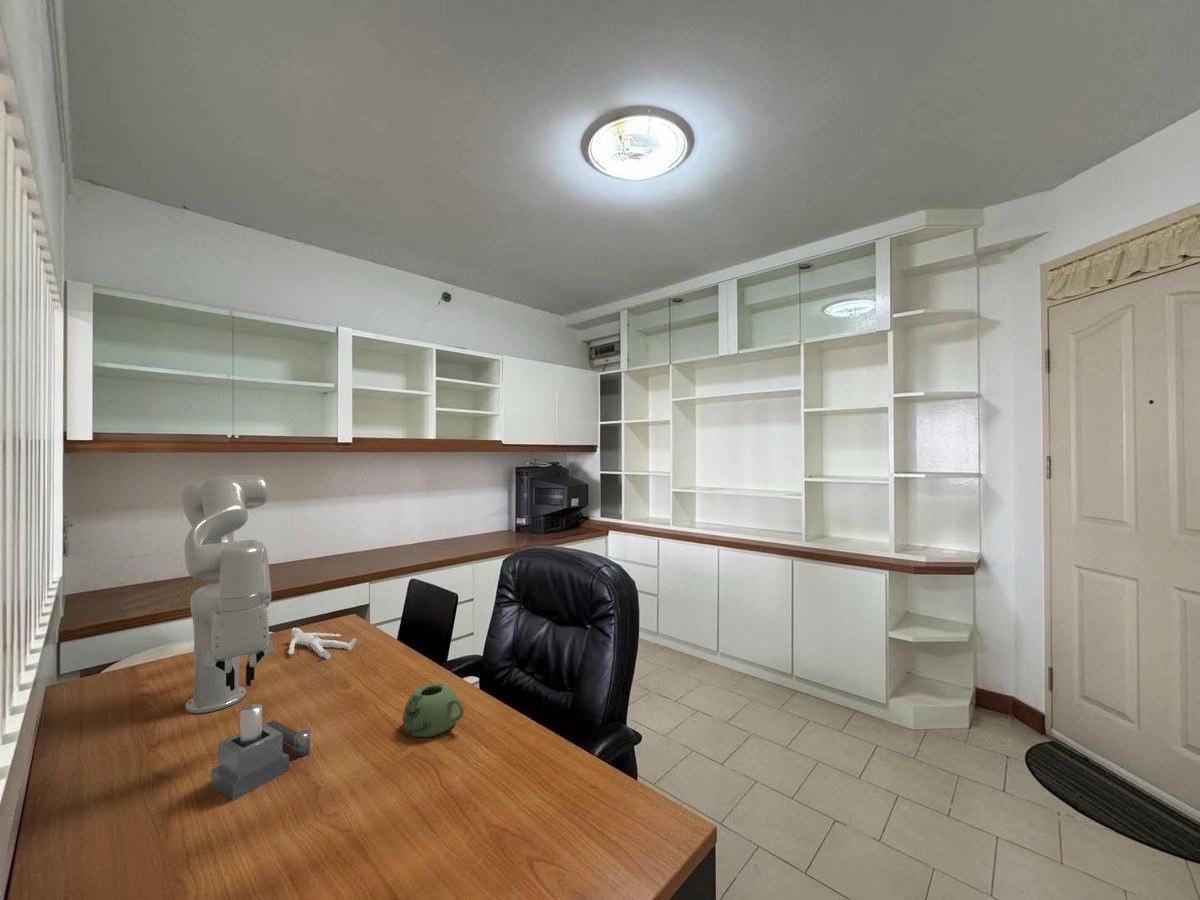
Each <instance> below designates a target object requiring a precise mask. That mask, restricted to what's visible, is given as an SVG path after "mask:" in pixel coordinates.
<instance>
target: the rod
mask: <svg viewBox="0 0 1200 900" xmlns="http://www.w3.org/2000/svg"><path fill="white" fill-rule="evenodd" d="M239 711H240V713H239V715H240V716H239V717H240V718H239V733H240V746H241V747H242V748H244V747H246V746H248V745H250V744H253V743H255V742H257V741H259V740H261V739H262V723H263V704H262V703H253V704H249V705H246V706H244V707H242V708H241V709H240V710H239Z"/></svg>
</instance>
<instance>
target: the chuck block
mask: <svg viewBox="0 0 1200 900" xmlns="http://www.w3.org/2000/svg"><path fill="white" fill-rule="evenodd" d="M217 745H218V746H217V747H218V748H217V753H218V754H217V766H216V767H214V768H212V769H210V786H211V787H213V788H214V789H215V790H217V791H218V792H220V793H221V794H223V796H225V797H227V798H228V799H229V800H231V801H235V800H237V799H239V798H240V797H242V796H245V795H246V794H248V793H250V792H251V791H253V790H255V789H257V788H260V787H261V786H263V785H264V784H266V783H268V782H270V781H272V780H273V779H275V778H277V777H279V776H281V775H283V774H284V773H287V772H288V771H290V755H289V754H287V753H286V752H285V753H284V751H283V750H284V749H283V748H284V746H283V745H284V742H283V733H282V732H280V731H278V730H276V729H274V728H272V727H270V726H268V725H266V723H264V722H262V739H261V740H259V741H257V742H255V743H253V744H250V745H248V746H246V747H244V748H242V747H241V746H240V732H239V733H237V734H234V735H232V736H230V737H228V738H226V739H224V740H221V741H219V742H218V744H217Z"/></svg>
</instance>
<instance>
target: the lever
mask: <svg viewBox="0 0 1200 900" xmlns="http://www.w3.org/2000/svg"><path fill="white" fill-rule="evenodd" d="M265 724H266V725H268V726H270V727H272V728H274V729H276V730H278V731H280V732H282V733H283V744H286V745H288V746H290V747H292V748H293V756H294V757H297V758H298V757H304V756H305V755H307V754H309V753H310V752H311V730H310V729H305V730H301V731H296V730H294V729H292V728H290V727H288V726H286V725H284V724H283V723H281V722H278V721H276V720H274V719H272V720H269V721H267V722H266V723H265Z"/></svg>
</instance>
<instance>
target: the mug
mask: <svg viewBox="0 0 1200 900" xmlns="http://www.w3.org/2000/svg"><path fill="white" fill-rule="evenodd" d="M464 711H465V710H464V704H463V702H462V700H461V699H459V698H457V695H456V694H455V691H454V690H453V689H452V688H451V687H450V686H449V685H447V684H445V683H439V682H438V683H437V682H436V683H429V684H426V685H422V686H421V687H418V688H417V689H415V690H414V691H413V692H412V693H411V694H410V696H409V698H408V700H407V702H406V705H405V707H404V710H403V715H402V724H403V727H404V731H405V732H406V733H408V734H410V735H411V736H413V737H415V738H417V737H419V738H431V737H435V736H437V735H440V734H443V733H445V732H446V731H449V729H451V728H452V727H453V726H454V724H455V723H456V722H458V721H460V720H461V719H462V718H463V716H464V713H465V712H464Z"/></svg>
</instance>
